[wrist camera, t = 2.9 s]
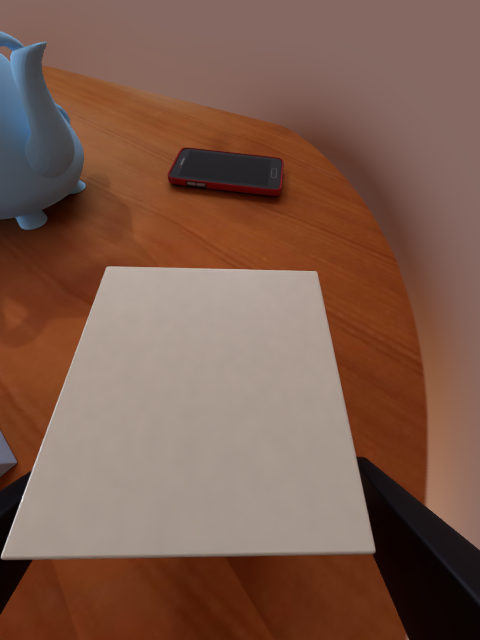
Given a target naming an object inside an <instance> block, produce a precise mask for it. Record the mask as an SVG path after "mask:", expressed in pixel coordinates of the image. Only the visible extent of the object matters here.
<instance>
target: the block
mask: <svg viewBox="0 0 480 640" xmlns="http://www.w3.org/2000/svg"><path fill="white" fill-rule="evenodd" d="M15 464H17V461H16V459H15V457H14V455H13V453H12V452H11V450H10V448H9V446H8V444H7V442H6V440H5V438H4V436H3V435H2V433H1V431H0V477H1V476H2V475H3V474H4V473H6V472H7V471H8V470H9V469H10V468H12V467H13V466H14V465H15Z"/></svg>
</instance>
